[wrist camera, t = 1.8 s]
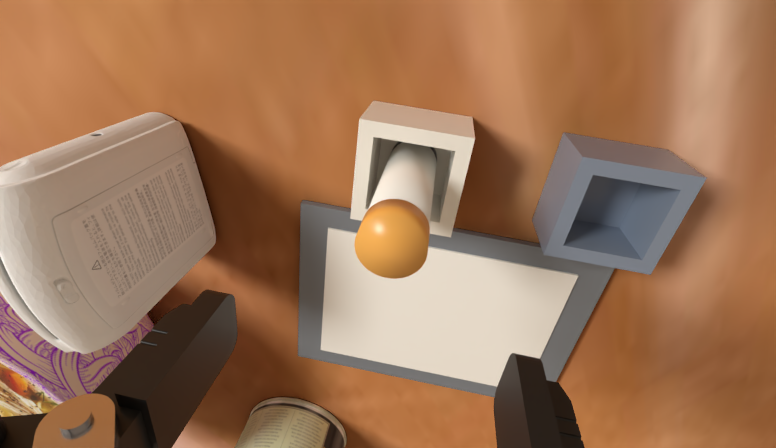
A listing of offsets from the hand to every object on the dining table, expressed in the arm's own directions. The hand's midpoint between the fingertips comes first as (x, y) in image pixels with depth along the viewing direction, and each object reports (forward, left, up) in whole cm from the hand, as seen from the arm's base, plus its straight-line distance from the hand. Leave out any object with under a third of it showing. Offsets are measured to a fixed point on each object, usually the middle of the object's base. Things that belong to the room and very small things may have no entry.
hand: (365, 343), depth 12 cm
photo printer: (+5, -16, -16) cm, 23 cm away
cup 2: (0, +11, -15) cm, 19 cm away
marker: (0, 0, -15) cm, 15 cm away
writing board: (+12, +3, -15) cm, 20 cm away
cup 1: (0, 0, -15) cm, 15 cm away
